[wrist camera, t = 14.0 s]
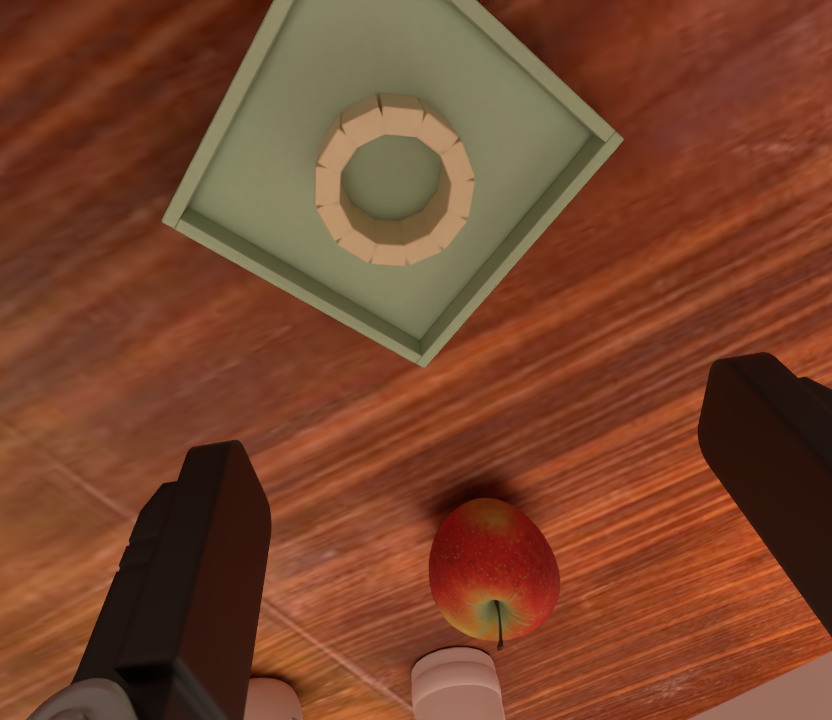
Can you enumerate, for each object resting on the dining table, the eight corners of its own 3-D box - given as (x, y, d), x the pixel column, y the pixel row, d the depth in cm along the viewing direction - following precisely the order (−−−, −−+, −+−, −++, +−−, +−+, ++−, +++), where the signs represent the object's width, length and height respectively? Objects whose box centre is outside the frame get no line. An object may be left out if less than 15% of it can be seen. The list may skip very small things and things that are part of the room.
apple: (482, 561, 43) (513, 699, 34) (399, 524, 39) (411, 668, 31) (558, 500, 39) (612, 637, 31) (475, 455, 36) (511, 595, 28)
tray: (172, 206, 25) (160, 221, 24) (340, -121, 19) (339, -130, 18) (420, 348, 31) (424, 369, 29) (607, 128, 25) (625, 139, 23)
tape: (291, 189, 25) (285, 212, 22) (371, 58, 22) (374, 69, 20) (406, 263, 27) (412, 291, 25) (490, 154, 25) (505, 173, 22)
